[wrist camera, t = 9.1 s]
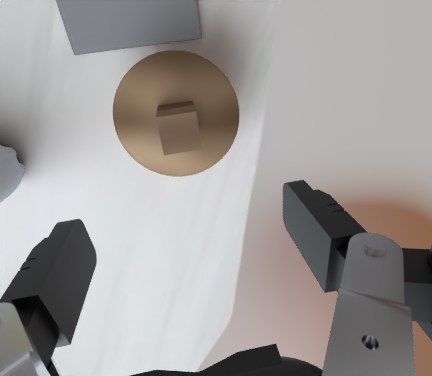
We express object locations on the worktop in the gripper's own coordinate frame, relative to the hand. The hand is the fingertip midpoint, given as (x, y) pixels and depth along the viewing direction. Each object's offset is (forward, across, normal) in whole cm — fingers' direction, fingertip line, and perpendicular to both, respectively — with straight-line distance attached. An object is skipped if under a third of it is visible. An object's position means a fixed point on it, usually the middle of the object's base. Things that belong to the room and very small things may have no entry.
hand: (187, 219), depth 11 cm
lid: (+16, 0, 0) cm, 16 cm away
